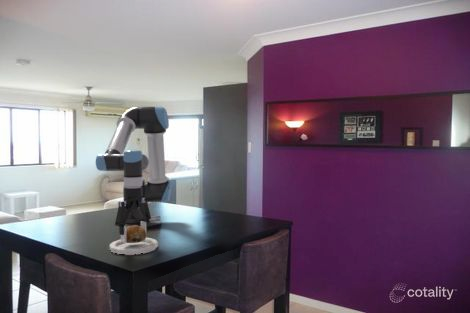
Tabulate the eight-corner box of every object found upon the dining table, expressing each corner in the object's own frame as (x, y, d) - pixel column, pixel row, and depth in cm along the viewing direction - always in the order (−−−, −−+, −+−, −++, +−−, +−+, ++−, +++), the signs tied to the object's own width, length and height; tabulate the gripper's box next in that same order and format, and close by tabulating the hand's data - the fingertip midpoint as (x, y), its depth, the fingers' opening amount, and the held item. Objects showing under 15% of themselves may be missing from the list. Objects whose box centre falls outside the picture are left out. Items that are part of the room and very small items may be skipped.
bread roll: (147, 246, 158) (148, 227, 161) (142, 242, 149) (144, 222, 152) (124, 246, 158) (126, 227, 161) (118, 242, 148) (120, 222, 151)
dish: (136, 239, 168) (136, 235, 168) (166, 246, 157) (166, 241, 157) (100, 249, 152) (100, 245, 152) (131, 257, 141) (131, 252, 141)
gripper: (147, 183, 165) (147, 232, 166) (104, 189, 146) (105, 244, 147) (159, 184, 161) (159, 234, 162) (116, 190, 142) (117, 247, 143)
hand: (133, 239), depth 155 cm, fingers closed on bread roll, 10 cm apart
